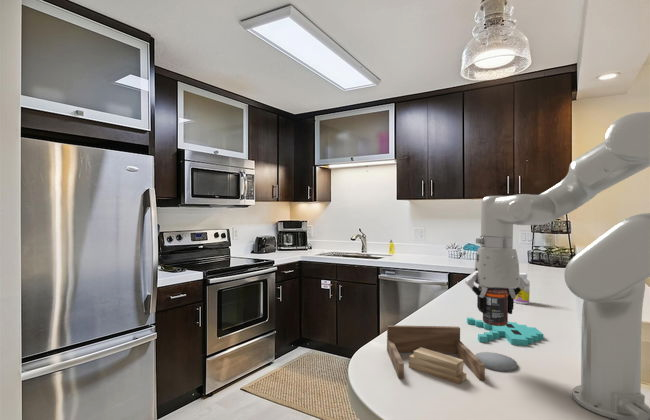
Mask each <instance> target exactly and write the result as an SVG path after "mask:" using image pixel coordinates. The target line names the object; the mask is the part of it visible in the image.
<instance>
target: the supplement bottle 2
mask: <svg viewBox="0 0 650 420" xmlns="http://www.w3.org/2000/svg"><path fill="white" fill-rule="evenodd" d="M519 274H520V277H521V278H522V279H523V280H524V281H525V283H526V284H527V285H526V286H525V287H524V288H523V289H522V290H521V291H520V292H519V293H518V294H517V295H516V298H514V303H515V304H519V305H529V304H530V294H531V293H530V292H531V291H530V286H531V285H530V280H529V279H527V278H528V273H526V272H519Z"/></svg>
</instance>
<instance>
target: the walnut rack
mask: <svg viewBox="0 0 650 420" xmlns="http://www.w3.org/2000/svg"><path fill="white" fill-rule="evenodd" d="M420 347H422V348H425V349H428V350H432V351H435V352H438V353H442V354H456V355H457V358H459V359H462V360H463V364H465V365H466V367H467V368H468V369H469V370H470V371H471V372H472V374H474V376H475V377H476V378H477V380H479V381H486V380H485V379H486V377H485V376H486V368H485V365H484V364H483V363H482V362H481V361H480V360H479V359H478V358H477V357H476V356H475V354H474V352H472V351H471V350H470V349H469V348H468V347H467V346H466V345H465V344H464V343H463V342H462V341H461V327H460V326H452V325H451V326H449V325H448V326H445V325H444V326H443V325H442V326H441V325H392V324H391V325H389V324H387V325H386V352H387V353H388V356H389V359H390V361H391V363H392V366H393V368H394V370H395V373H396V375H397V377H398V379H400V380H401V379H402V380H403V379H404V378H405V375H404V374H405V362H404V361H403V358H402V357H401V355H400V353H414V351H415V350H417V349H419V348H420Z"/></svg>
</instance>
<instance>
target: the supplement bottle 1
mask: <svg viewBox="0 0 650 420" xmlns="http://www.w3.org/2000/svg"><path fill="white" fill-rule="evenodd" d="M485 298H486V299H487V304H486V313H482V321H483V322H485V323H486V324H489V325H494V326H505V325H507V323H508V321H509V316H508V315H509V313H508V291H507V290H506V289H505V288H488V289H487V291H486V294H485Z"/></svg>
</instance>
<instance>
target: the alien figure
mask: <svg viewBox="0 0 650 420" xmlns="http://www.w3.org/2000/svg"><path fill="white" fill-rule="evenodd" d="M466 324H467V325H474V326H475V327H476V328H477V327H478V328H483V330H488V329H489V332H488V331H487V332H486V331H483V334H482V333H477V340H478V342H479V343H485V344H487V343H488V341H491V342H493V341H494V339H497V340H500V338H505V339H506V340H507V342H508V343H509V344H510V345H511V346H523V347H527V346H528V344H531V345H533V344H534V342H536V343H538V342H539V340H540V341H544V333H542V331H540V330H539V329H538V328H537V327H533V326H532V327H531V326H527V325H526V324H519V323H517V322H514V321H510V320H508V323H507V325H505V326H494V325H489V324H486V323H485V322H483V319H475V318H474V317H466Z"/></svg>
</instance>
